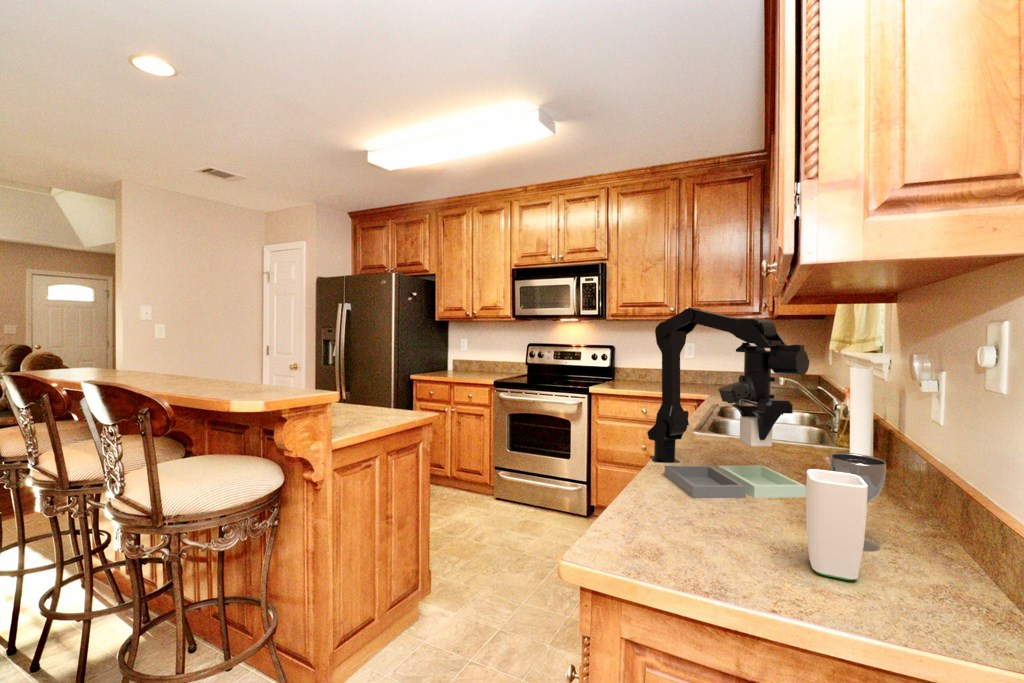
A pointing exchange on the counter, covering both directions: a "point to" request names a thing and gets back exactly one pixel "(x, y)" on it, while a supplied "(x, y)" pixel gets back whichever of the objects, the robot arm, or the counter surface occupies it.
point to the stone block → (752, 432)
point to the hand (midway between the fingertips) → (755, 437)
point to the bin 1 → (705, 482)
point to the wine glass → (868, 470)
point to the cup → (835, 522)
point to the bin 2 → (764, 482)
